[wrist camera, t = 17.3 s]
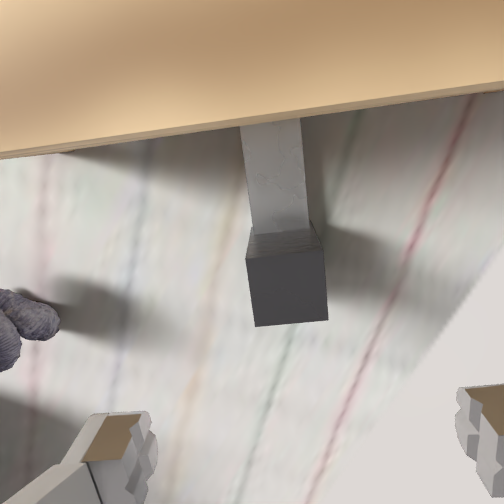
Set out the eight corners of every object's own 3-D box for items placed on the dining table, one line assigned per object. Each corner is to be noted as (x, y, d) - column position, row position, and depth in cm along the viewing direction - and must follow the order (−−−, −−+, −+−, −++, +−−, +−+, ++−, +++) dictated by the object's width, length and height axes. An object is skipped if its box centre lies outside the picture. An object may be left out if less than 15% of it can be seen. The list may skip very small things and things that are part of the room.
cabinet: (16, 10, 22) (-502, -232, 7) (516, -78, 19) (1269, -711, 5) (57, 153, 24) (-267, 189, 10) (504, 90, 22) (976, 12, 7)
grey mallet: (222, 9, 21) (202, -39, 15) (291, -2, 21) (300, -56, 15) (258, 281, 27) (255, 327, 20) (314, 275, 26) (328, 320, 20)
